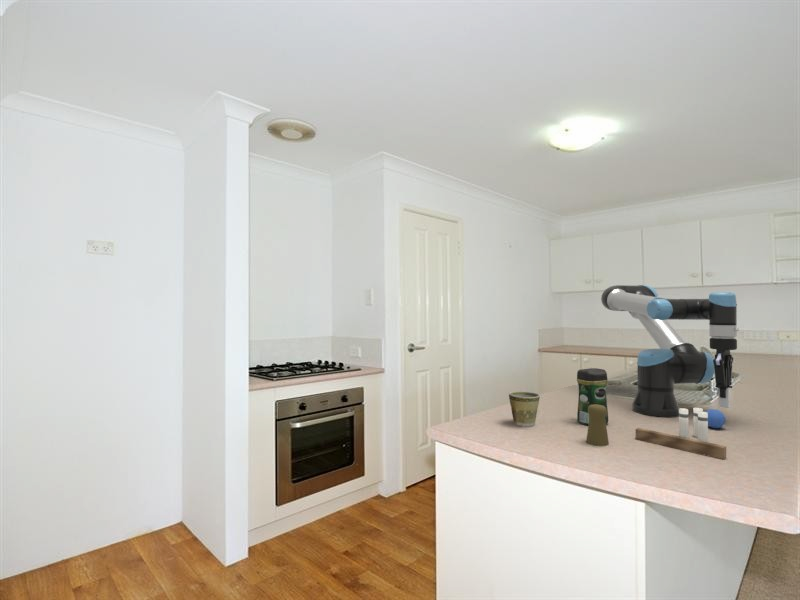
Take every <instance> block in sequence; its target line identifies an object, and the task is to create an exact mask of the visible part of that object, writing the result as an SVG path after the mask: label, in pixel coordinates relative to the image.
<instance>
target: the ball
mask: <svg viewBox="0 0 800 600" xmlns="http://www.w3.org/2000/svg"><path fill="white" fill-rule="evenodd" d="M705 412H707V413H708V428H709V427H710V428H712V429H720V428H722V427H724V425H725V424H726V421H727V420H726V417H725V414H724V413H723V412H721V410H718V409H713V408H712V409H707V410H706V411H705Z"/></svg>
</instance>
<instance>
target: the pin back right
mask: <svg viewBox="0 0 800 600" xmlns="http://www.w3.org/2000/svg"><path fill="white" fill-rule="evenodd" d="M697 440H699V441H703V442H708V443H709V426H708V413H707V412H706V411H704V410H703V411H698V438H697Z"/></svg>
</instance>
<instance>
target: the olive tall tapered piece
mask: <svg viewBox="0 0 800 600" xmlns="http://www.w3.org/2000/svg"><path fill="white" fill-rule="evenodd" d="M607 410H608V408H607V409H606V407H605V406H603V405H598V404H593V405H590V406H589V407H588V414H589V415H590V418H589V425H587V434H586V443H587V444H589V445H591V446H597V447H606V446H609V443H610V442H609V434H608V429H607V424H606V421H605V417H606V415H607Z"/></svg>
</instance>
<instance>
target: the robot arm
mask: <svg viewBox="0 0 800 600" xmlns="http://www.w3.org/2000/svg"><path fill="white" fill-rule="evenodd" d="M658 296H659V295H658V293H657V290H655V288H653V287H652V286H649V285H643V284H638V285H624V284H623V285H621V284H618V285H612V286H609V287H607V288H606V289H604V291H602V294H601V303H602V305H603V306H604V308H606V309H607V310H610V311H614V312H629V314H630V315H631V317H632V318H634V319H636V320H639V322H640V323H641V325H642V326H643V327H644V328H645V330H646V331H647V332H648V334H649V335H650V337H651V338H652V339H653V341H654V342H655V344H657V346H658V347H659V348H650V349H649V348H648V349H644V350H641V351H640V352H638V355H637V359H636V360H637V361H636V365H637V390H636V391H637V392H636V393H635V397H634V399H633V401H632V410H633V412H635V413H638V414H642V415H647V416H653V417H654V416H655V417H666V418H667V417H668V418H669V417H671V418H672V417H677V416H678V417H679V408H680V407H679V405H678V402H677V399H676V395H675V393H674V387H675V386H674V385H675V384H678V385H679V384H681V385H683V384H686V385H687V384H695V385H698V384H706V383H708V382H710V381H711V380H712V379H713V377H714V379H715V386H714V387H715V388H716V389H717V388H718V393H717V394H718V408H724V409H725V408H726V409H730V407H731V405H730V402H731V401H730V389H732V388H733V385H732V373H733V362H734V357H733V355H732V354H731V351H736V350H737V349H738V340H737V338H736V337H737V332H738V331H740V330H739V328H738V327H737V322H738V321H737V316H738V315H737V312H738V311H737V307H738V304H737V297H736V296H737V295H736V294H735V293H734V292H729V291H727V292H710V293H709V295H708V298H665V297H658ZM668 320H669V321H670V320H679V321H680V320H682V321H683V320H686V321H687V320H696V321H699V320H700V321H701V320H702V321H706V320H708V322H709V323H708V324H709V325H708V326H709V330H708V332H709V333H708V335H709V337H710V338H709V348H710V349H712V350H716V353H715V354H714V358H713V356H712V355H711V354H710V353H708V352H705V351H699V350H697V348H696V347H695V346H694V345H693V344H692V343H690V342H686V340H684V339H683V338H682V336H681V335H680V334H679V333H678V331H677V330H676V329H675V328H674V327H673V325H671V323H670V322H669V321H668Z"/></svg>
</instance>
